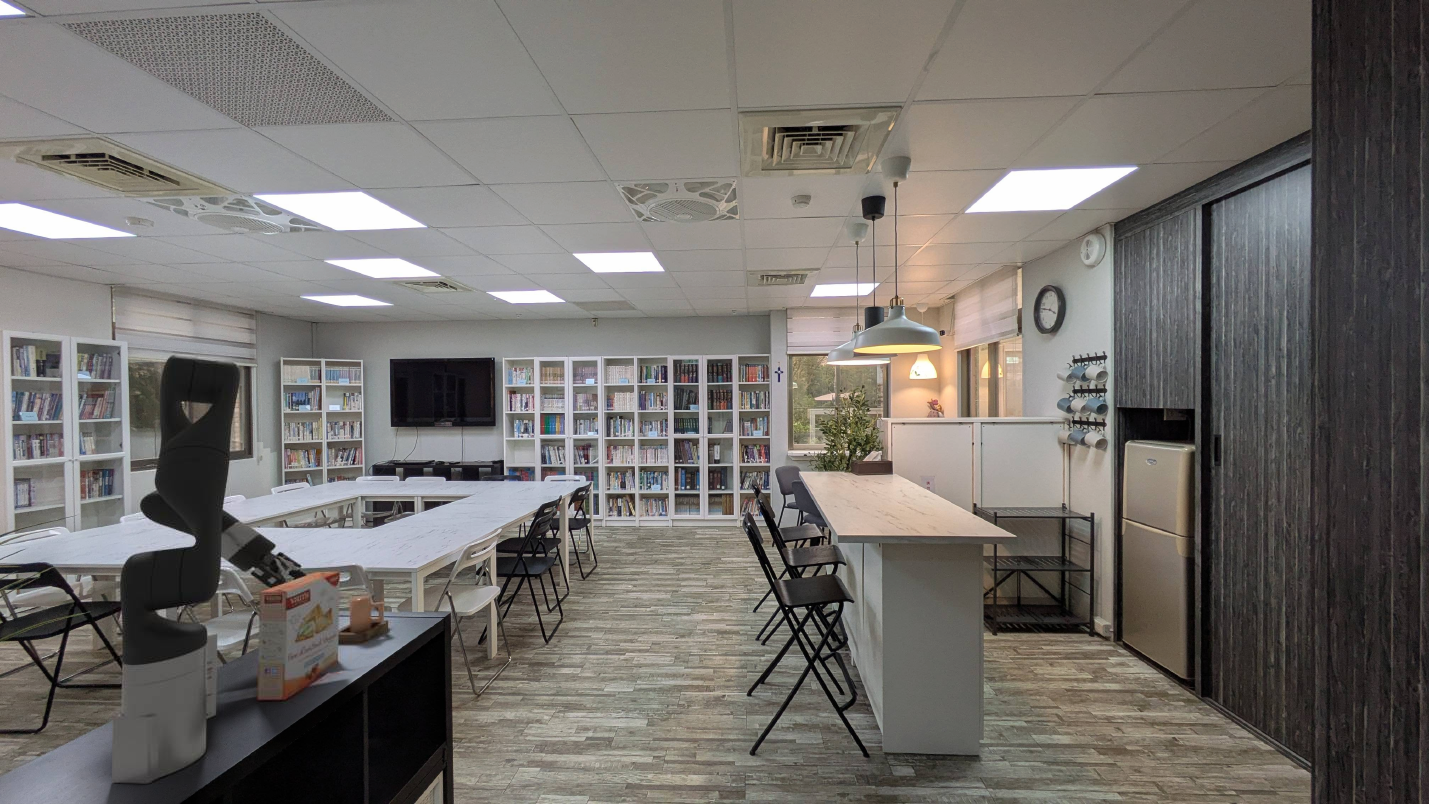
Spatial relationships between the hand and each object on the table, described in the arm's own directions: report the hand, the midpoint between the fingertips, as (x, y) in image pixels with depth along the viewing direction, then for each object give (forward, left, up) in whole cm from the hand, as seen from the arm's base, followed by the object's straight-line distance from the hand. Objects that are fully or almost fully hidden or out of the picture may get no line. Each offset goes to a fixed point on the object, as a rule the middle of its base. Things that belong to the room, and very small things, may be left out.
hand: (305, 589), depth 122 cm
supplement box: (-30, -2, -15) cm, 33 cm away
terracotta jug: (+6, -11, -13) cm, 18 cm away
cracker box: (-15, -13, -15) cm, 24 cm away
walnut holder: (+5, -10, -14) cm, 18 cm away
